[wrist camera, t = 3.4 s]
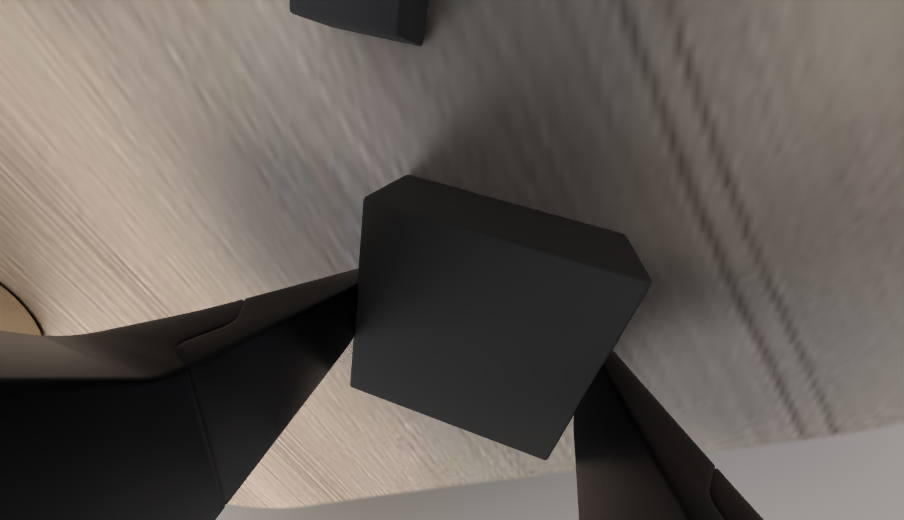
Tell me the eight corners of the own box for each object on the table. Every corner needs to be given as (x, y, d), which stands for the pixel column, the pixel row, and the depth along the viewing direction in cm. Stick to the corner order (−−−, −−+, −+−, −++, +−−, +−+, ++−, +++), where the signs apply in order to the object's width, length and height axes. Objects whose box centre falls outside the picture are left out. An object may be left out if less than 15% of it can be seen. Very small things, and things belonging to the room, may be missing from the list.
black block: (626, 234, 8) (655, 282, 6) (547, 391, 11) (547, 462, 9) (406, 173, 9) (361, 196, 7) (385, 335, 12) (349, 387, 10)
